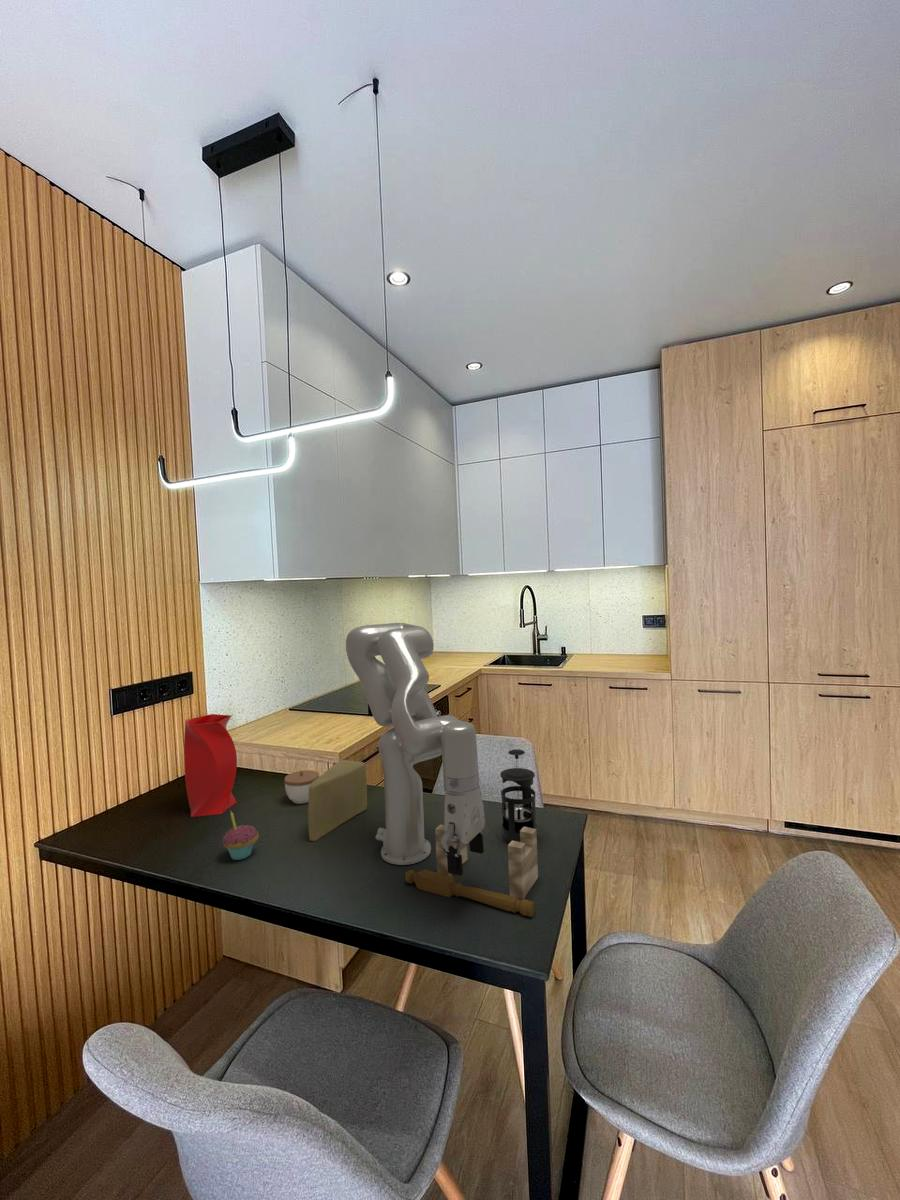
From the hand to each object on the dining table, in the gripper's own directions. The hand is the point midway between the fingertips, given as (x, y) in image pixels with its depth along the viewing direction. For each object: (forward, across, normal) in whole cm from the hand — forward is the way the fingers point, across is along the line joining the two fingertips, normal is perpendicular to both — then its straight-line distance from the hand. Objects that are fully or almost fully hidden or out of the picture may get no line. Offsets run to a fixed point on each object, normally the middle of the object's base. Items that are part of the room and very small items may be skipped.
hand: (466, 862), depth 107 cm
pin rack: (+8, +10, 0) cm, 12 cm away
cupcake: (+6, -8, +61) cm, 62 cm away
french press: (+8, +30, 0) cm, 31 cm away
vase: (+4, +6, +95) cm, 96 cm away
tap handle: (+8, +1, +1) cm, 9 cm away
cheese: (+6, +15, +51) cm, 54 cm away
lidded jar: (+5, +24, +72) cm, 76 cm away
